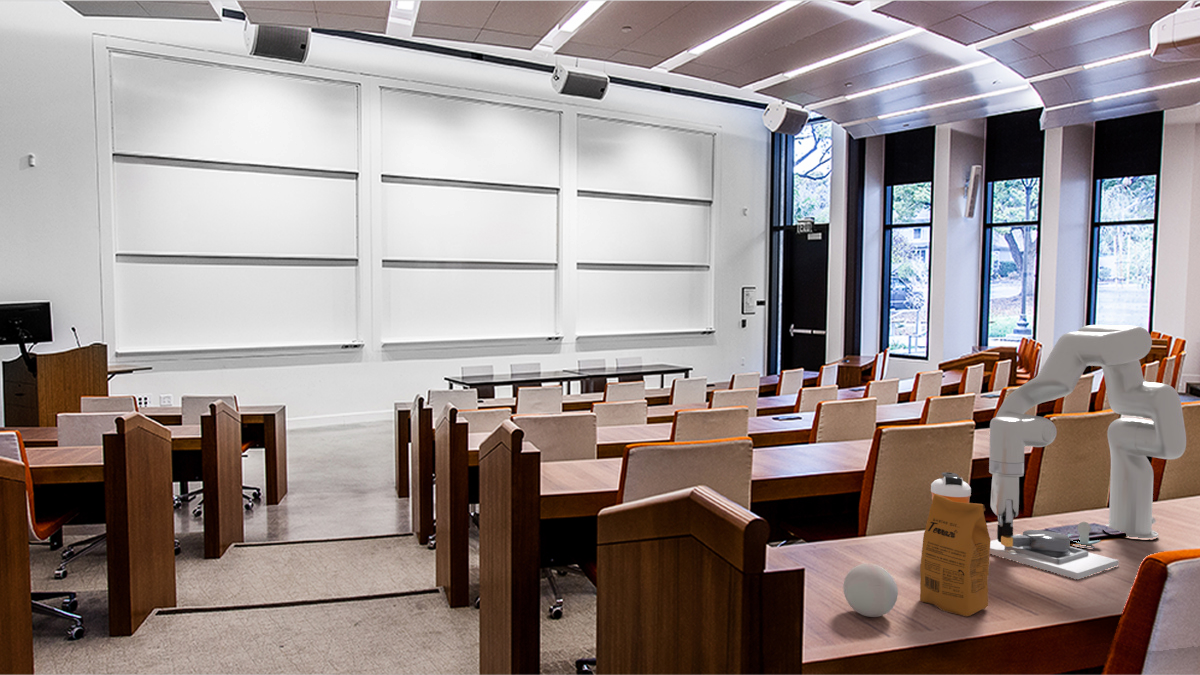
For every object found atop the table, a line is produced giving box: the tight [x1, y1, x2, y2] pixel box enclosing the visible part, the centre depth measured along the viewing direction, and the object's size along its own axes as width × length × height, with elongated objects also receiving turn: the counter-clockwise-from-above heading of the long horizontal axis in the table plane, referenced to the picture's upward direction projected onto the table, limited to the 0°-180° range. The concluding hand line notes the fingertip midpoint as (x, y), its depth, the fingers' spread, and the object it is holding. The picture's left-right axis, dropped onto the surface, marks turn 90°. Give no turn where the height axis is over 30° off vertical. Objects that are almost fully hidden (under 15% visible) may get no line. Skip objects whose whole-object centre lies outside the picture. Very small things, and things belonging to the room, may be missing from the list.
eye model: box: [842, 563, 899, 618], centre depth 150 cm, size 10×10×10 cm
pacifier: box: [1067, 521, 1101, 549], centre depth 196 cm, size 7×6×6 cm
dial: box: [1001, 529, 1072, 558], centre depth 185 cm, size 16×10×4 cm, turn 97°
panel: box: [989, 533, 1120, 580], centre depth 186 cm, size 18×24×3 cm
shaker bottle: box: [930, 471, 972, 503], centre depth 187 cm, size 9×9×20 cm
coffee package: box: [919, 494, 991, 617], centre depth 155 cm, size 10×12×22 cm
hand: (1004, 541), depth 188 cm, fingers closed
